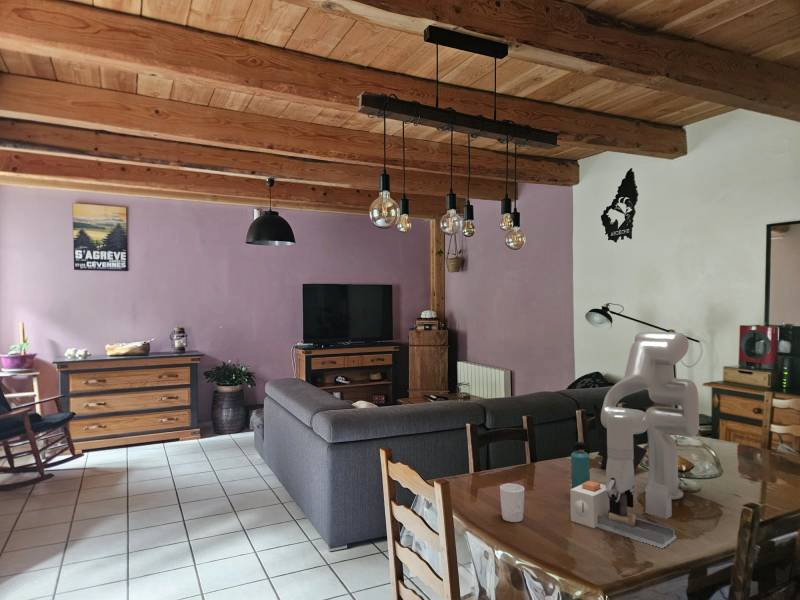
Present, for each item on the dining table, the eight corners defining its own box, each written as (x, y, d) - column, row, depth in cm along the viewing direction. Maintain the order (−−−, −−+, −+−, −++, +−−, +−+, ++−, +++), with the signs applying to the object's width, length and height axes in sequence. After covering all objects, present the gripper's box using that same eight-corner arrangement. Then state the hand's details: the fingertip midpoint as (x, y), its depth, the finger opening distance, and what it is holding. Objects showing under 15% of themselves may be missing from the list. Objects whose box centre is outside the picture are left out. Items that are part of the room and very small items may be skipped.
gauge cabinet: (590, 510, 174) (589, 480, 175) (613, 517, 168) (612, 486, 169) (570, 521, 166) (569, 489, 167) (593, 528, 160) (592, 496, 160)
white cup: (497, 513, 173) (496, 484, 173) (520, 512, 174) (519, 482, 174) (504, 523, 165) (503, 492, 165) (528, 522, 166) (527, 491, 166)
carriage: (616, 518, 164) (615, 490, 164) (635, 524, 159) (634, 495, 159) (608, 523, 161) (608, 494, 161) (627, 529, 156) (627, 499, 156)
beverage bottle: (592, 502, 182) (591, 445, 182) (572, 501, 183) (571, 444, 184) (589, 495, 188) (588, 440, 189) (570, 494, 190) (569, 439, 190)
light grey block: (666, 519, 166) (665, 488, 166) (645, 513, 172) (645, 483, 172) (671, 516, 169) (671, 486, 169) (651, 510, 174) (650, 480, 174)
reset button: (589, 492, 170) (588, 480, 171) (600, 496, 167) (600, 483, 167) (582, 495, 168) (582, 483, 168) (594, 499, 165) (593, 486, 165)
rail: (610, 519, 167) (610, 509, 167) (675, 539, 152) (675, 528, 152) (596, 527, 162) (596, 516, 162) (662, 548, 146) (662, 537, 146)
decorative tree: (604, 474, 222) (569, 413, 212) (622, 449, 228) (588, 389, 218) (634, 483, 209) (598, 419, 200) (652, 457, 215) (618, 394, 206)
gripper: (622, 445, 169) (623, 499, 169) (594, 456, 157) (596, 514, 157) (645, 450, 163) (646, 506, 163) (618, 461, 152) (620, 521, 152)
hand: (621, 509), depth 160 cm, fingers open, 7 cm apart
